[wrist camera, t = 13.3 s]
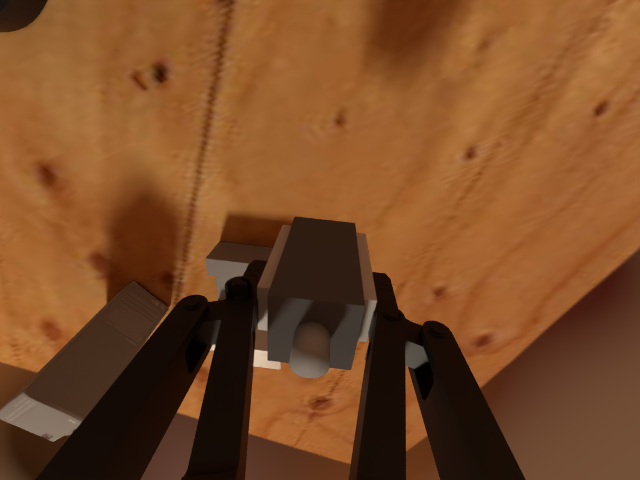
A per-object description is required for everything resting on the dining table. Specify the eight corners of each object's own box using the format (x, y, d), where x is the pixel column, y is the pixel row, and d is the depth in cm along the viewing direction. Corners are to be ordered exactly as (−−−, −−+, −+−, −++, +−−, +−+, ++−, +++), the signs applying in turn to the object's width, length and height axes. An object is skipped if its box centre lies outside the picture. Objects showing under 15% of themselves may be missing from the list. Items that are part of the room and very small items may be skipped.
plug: (294, 216, 18) (257, 322, 10) (355, 223, 18) (368, 334, 10) (292, 266, 20) (259, 390, 12) (346, 272, 20) (352, 401, 12)
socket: (219, 241, 34) (205, 258, 31) (299, 250, 34) (294, 269, 31) (227, 324, 41) (216, 345, 37) (294, 332, 41) (289, 354, 37)
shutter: (219, 319, 35) (206, 343, 31) (282, 327, 35) (276, 352, 31) (223, 357, 38) (212, 382, 35) (281, 364, 38) (275, 390, 34)
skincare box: (134, 278, 38) (14, 385, 24) (175, 310, 40) (88, 425, 27) (103, 305, 41) (-20, 415, 27) (143, 334, 43) (49, 449, 29)
